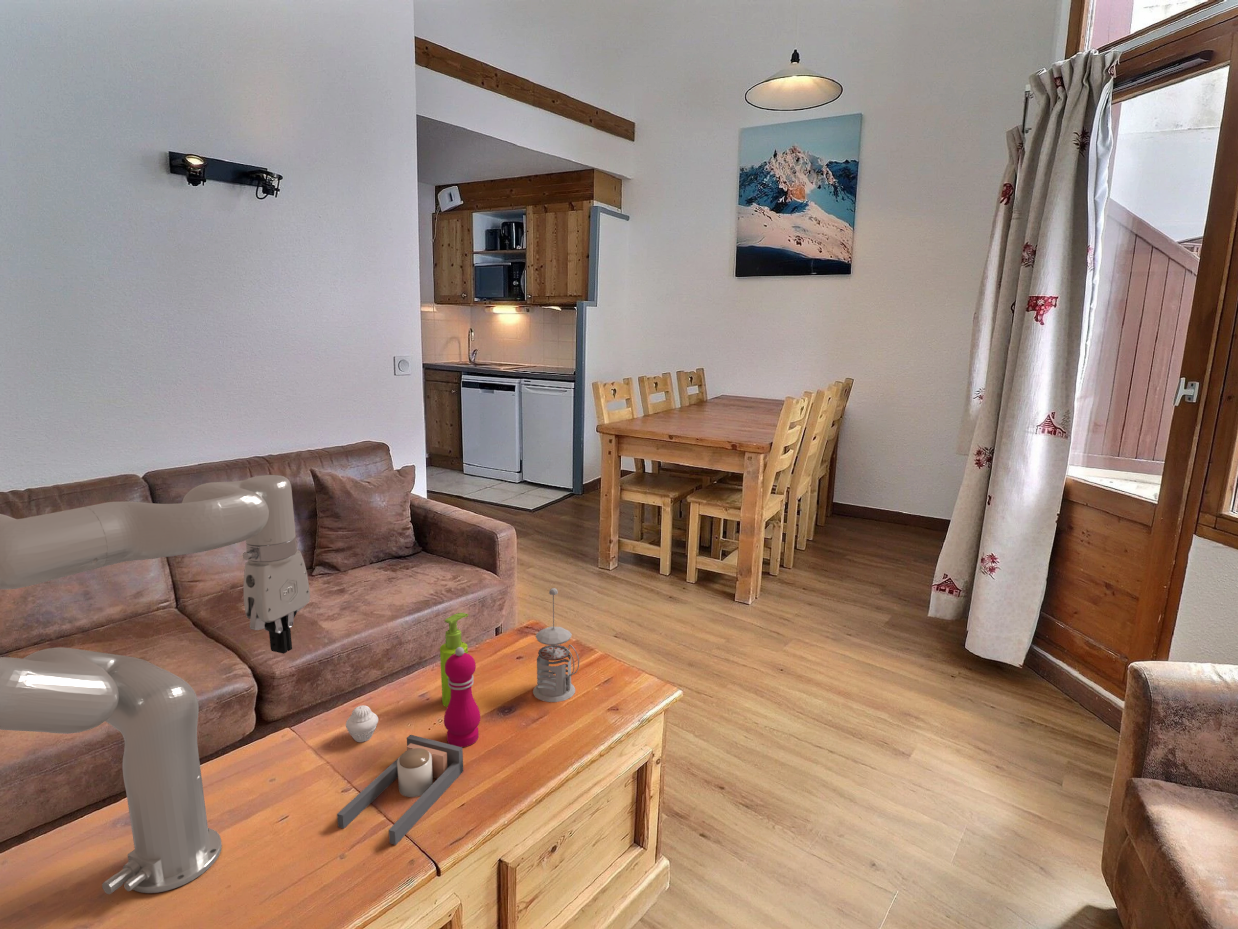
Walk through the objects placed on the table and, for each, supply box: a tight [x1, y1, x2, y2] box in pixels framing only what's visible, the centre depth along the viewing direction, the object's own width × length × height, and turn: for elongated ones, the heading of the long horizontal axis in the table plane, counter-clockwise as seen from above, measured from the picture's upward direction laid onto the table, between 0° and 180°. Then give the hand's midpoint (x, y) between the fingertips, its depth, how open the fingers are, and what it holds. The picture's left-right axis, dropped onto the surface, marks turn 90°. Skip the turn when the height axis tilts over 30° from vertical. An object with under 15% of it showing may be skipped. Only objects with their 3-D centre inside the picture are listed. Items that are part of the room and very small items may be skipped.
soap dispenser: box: [439, 612, 469, 708], centre depth 152 cm, size 6×7×20 cm
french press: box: [532, 587, 580, 703], centre depth 156 cm, size 10×12×25 cm
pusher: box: [406, 743, 447, 780], centre depth 128 cm, size 1×8×5 cm, turn 71°
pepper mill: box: [443, 647, 481, 748], centre depth 138 cm, size 7×7×20 cm
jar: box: [396, 748, 434, 798], centre depth 125 cm, size 6×6×6 cm
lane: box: [336, 734, 464, 846], centre depth 122 cm, size 20×12×5 cm, turn 160°
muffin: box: [345, 705, 379, 743], centre depth 139 cm, size 6×6×7 cm
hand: (281, 650), depth 119 cm, fingers closed
